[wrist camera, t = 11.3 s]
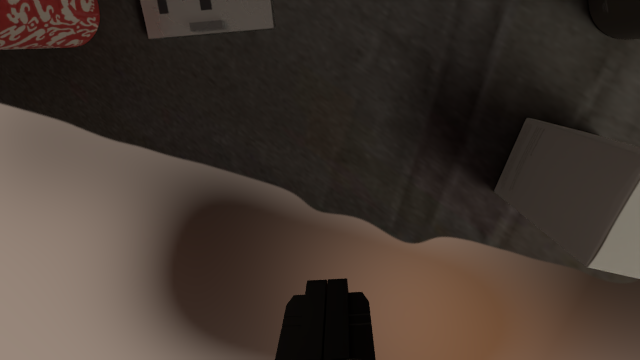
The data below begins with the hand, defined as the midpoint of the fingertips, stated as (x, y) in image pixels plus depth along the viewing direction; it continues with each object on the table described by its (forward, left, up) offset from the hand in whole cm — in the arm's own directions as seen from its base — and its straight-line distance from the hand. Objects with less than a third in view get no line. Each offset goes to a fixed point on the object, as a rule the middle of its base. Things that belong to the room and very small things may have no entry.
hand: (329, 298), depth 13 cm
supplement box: (-24, +5, -26) cm, 36 cm away
